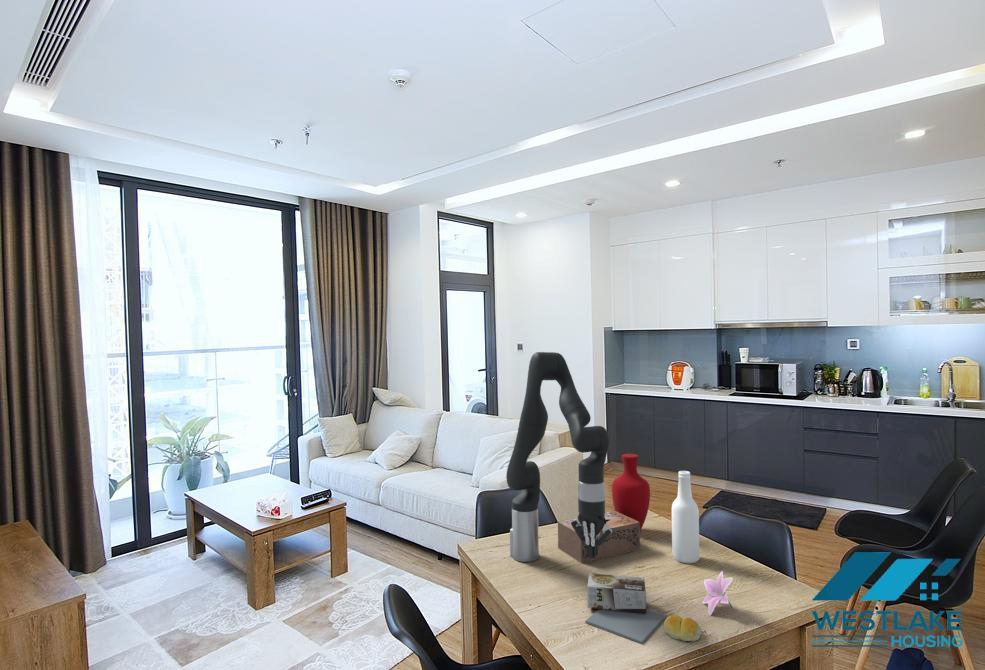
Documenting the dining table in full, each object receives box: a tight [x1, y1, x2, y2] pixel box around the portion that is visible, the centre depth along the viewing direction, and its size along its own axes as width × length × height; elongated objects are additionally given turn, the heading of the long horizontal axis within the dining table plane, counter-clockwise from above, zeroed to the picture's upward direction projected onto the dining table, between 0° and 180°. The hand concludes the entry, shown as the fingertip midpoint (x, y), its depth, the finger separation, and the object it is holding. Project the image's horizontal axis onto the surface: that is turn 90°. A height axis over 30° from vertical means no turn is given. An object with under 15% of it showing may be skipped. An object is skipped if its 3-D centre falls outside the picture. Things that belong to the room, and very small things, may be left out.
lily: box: [702, 570, 734, 616], centre depth 150 cm, size 12×12×10 cm
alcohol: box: [671, 470, 700, 565], centre depth 183 cm, size 9×9×30 cm
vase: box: [611, 453, 651, 532], centre depth 210 cm, size 15×15×30 cm
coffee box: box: [586, 573, 648, 614], centre depth 152 cm, size 9×6×16 cm
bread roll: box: [663, 614, 702, 642], centre depth 138 cm, size 8×9×4 cm
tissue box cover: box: [557, 510, 641, 564], centre depth 193 cm, size 26×14×10 cm, turn 115°
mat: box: [585, 608, 667, 645], centre depth 145 cm, size 16×16×1 cm
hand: (592, 557), depth 151 cm, fingers closed
